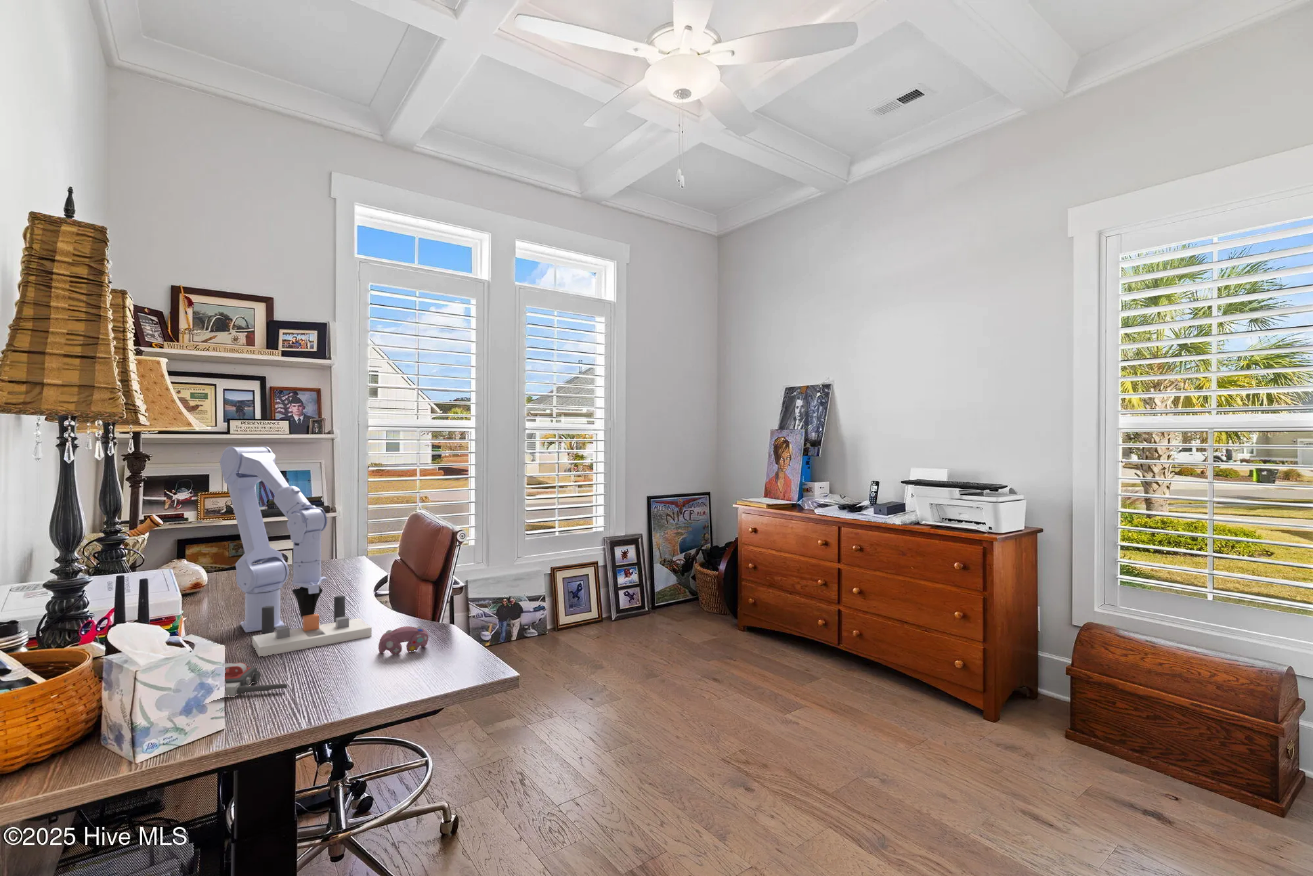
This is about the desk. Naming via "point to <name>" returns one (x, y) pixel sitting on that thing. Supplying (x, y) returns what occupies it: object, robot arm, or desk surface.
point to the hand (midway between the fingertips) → (307, 619)
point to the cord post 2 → (339, 607)
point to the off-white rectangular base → (310, 636)
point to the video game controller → (403, 639)
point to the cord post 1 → (267, 619)
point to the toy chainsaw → (244, 680)
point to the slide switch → (310, 622)
